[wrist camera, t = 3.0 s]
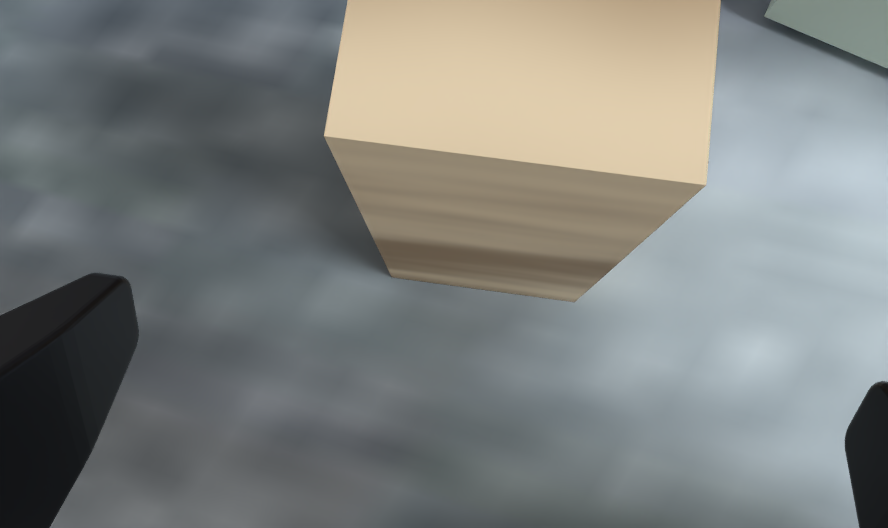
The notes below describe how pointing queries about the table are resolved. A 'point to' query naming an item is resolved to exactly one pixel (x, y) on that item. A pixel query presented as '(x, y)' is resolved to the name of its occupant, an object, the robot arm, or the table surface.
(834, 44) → the door
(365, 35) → the block
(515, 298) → the table surface
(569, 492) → the table surface
